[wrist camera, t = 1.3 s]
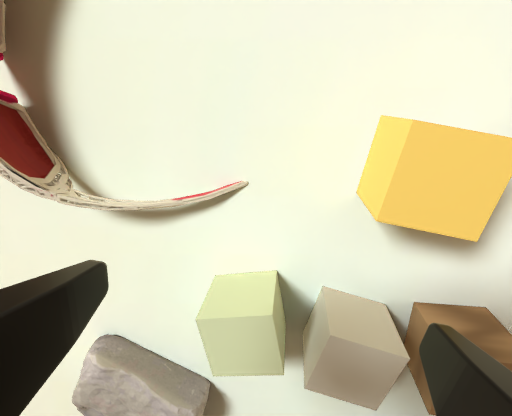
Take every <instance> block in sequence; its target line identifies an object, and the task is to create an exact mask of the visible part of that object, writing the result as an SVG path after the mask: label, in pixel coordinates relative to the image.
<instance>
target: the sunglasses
mask: <svg viewBox="0 0 512 416" xmlns="http://www.w3.org/2000/svg"><path fill="white" fill-rule="evenodd" d="M5 9H6V4H4V0H0V61H1V60H3V56H4V55H3V52H4V51H6V50H7V49H6V44H5ZM58 173H61V174H58ZM5 175H6V176H5ZM59 175H60V176H59ZM0 176H2V177H4V178H5V179H7V180H8V181H10V182H12V183H13V184H15V185H16V186H18V187H19V188H21V189H23V190H26V191H28V192H30V193H33V194H35V195H37V196H39V197H42V198H46V199H51V200H55V201H57V202H59V203H62V204H65V205H71V206H77V207H84V208H92V209H99V210H143V209H154V208H163V207H175V206H179V205H184V204H189V203H194V202H199V201H203V200H208V199H211V198H214V197H217V196H220V195H222V194H225V193H228V192H231V191H233V190H236V189H239V188H241V187H244V186H246V185H248V181H240V182H237V183H234V184H230V185H227V186H223V187H221V188H218V189H216V190H213V191H209V192H206V193H201V194H196V195H191V196H186V197H182V198H175V199H167V200H160V201H133V200H114V199H109V198H108V199H106V198H102V197H98V196H93V195H88V194H86V193H83V192H80V191H78V190H75V189H72V188H73V185H72V181H71V180H70V179H69V176H68V170H67V169H66V167H65V165H64V164H63V162H62V161H61V159H60V158H59V157H58V156H57V155H56V154H55V153H54V152H52V151H51V148H49V147H48V146H47V144H46V141H45V140H44V139H43V137H42V136H41V135H40V133H39V132H38V130H37V129H36V127H35V125H34V123H33V122H32V120H31V119H30V117H29V115H28V114H27V112H26V110H25V108H24V107H23V106H22V105H20V104H18V100H17V98H16V96H14V95H12V94H9V93H6V92H4V91H1V90H0ZM7 176H8V177H7ZM55 176H57V178H55ZM55 179H57V181H56V180H55ZM13 180H14V181H13ZM80 195H83V196H86V197H88V199H87V198H82V197H81V196H80ZM90 198H94V199H98V201H97V200H92V199H90ZM101 200H103V201H101Z"/></svg>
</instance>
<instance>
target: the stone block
mask: <svg viewBox="0 0 512 416" xmlns="http://www.w3.org/2000/svg"><path fill="white" fill-rule="evenodd" d="M209 389H210V382H209V380H207V379H206V378H204V377H202V376H201V375H198V374H196V373H194V372H192V371H190V370H188V369H186V368H184V367H182V366H180V365H178V364H176V363H174V362H172V361H170V360H168V359H166V358H164V357H162V356H160V355H158V354H156V353H154V352H152V351H149V350H147V349H145V348H143V347H141V346H139V345H138V344H136V343H134V342H131V341H129V340H127V339H125V338H122V337H119V336H114V335H108V334H107V335H104V336H101V337H99V338H98V339H97V340H96V341H95V342H94V344H93V345H92V346H91V348H90V349H89V351H88V353H87V355H86V357H85V359H84V362H83V368H82V370H81V375H80V378H79V381H78V383H77V386H76V388H75V390H74V393H73V396H72V403H73V404H74V405H75V406H76V407H77V410H79V411H80V412H81V413H82V414H83V415H84V416H203V413H204V409H205V406H206V403H207V399H208V394H209Z"/></svg>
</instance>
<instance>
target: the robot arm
mask: <svg viewBox="0 0 512 416" xmlns="http://www.w3.org/2000/svg"><path fill="white" fill-rule="evenodd" d="M107 291H108V274H107V265H106V264H105V263H104V262H101V261H96V260H88V261H85V262H82V263H79V264H76V265H73V266H70V267H67V268H64V269H61V270H58V271H54V272H51V273H48V274H45V275H42V276H39V277H36V278H33V279H30V280H27V281H24V282H21V283H18V284H15V285H12V286H9V287H6V288H3V289H0V416H19V415H20V414H21V413H22V411H23V410H24V409H25V408H26V406H27V405H28V404H29V402H30V401H31V400H32V399H33V397H34V396H35V395H36V393H37V392H38V391H39V389H40V388H41V387H42V386H43V384H44V383H45V382H46V380H47V379H48V378H49V376H50V375H51V374H52V373H53V371H54V370H55V369H56V367H57V366H58V365H59V364H60V362H61V361H62V360H63V358H64V357H65V356H66V354H67V353H68V352H69V350H70V349H71V348H72V346H73V345H74V344H75V342H76V341H77V339H78V338H79V336H80V335H81V333H82V332H83V330H84V329H85V327H86V325H87V324H88V322H89V321H90V319H91V318H92V316H93V314H94V313H95V311H96V310H97V308H98V306H99V305H100V303H101V302H102V300H103V299H104V297H105V295H106V294H107ZM419 354H420V358H421V362H422V366H423V370H424V373H425V377H426V381H427V384H428V388H429V392H430V396H431V399H432V403H433V407H434V410H435V413H436V416H512V371H511V370H509V369H508V368H507V367H505V366H504V365H502V364H501V363H500V362H498V361H497V360H496V359H494V358H493V357H492V356H490V355H489V354H488V353H486V352H485V351H483V350H482V349H481V348H479V347H478V346H477V345H475V344H474V343H473V342H471V341H470V340H468V339H467V338H466V337H464V336H463V335H462V334H460V333H459V332H458V331H456V330H455V329H454V328H452V327H451V326H449V325H445V324H440V323H431V324H430V325H429V326H428V328H427V330H426V332H425V334H424V337H423V339H422V341H421V343H420V346H419Z"/></svg>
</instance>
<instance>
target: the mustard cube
mask: <svg viewBox="0 0 512 416" xmlns="http://www.w3.org/2000/svg"><path fill="white" fill-rule="evenodd" d="M511 176H512V138H510V137H505V136H499V135H494V134H488V133H483V132H477V131H472V130H466V129H461V128H456V127H450V126H445V125H439V124H434V123H428V122H423V121H417V120H411V119H404V118H397V117H390V116H383V115H381V117H380V120H379V123H378V126H377V130H376V133H375V136H374V139H373V142H372V145H371V148H370V151H369V154H368V158H367V161H366V164H365V167H364V170H363V173H362V176H361V179H360V182H359V186H358V189H357V192H356V193H357V194H358V196H359V197H360V198H361V200H362V201H363V203H364V204H365V206H366V207H367V208H368V210H369V211H370V213H371V214H372V216H373V217H374V219H375V220H376V221H378V222H383V223H388V224H392V225H397V226H402V227H407V228H412V229H417V230H422V231H427V232H431V233H436V234H441V235H446V236H451V237H456V238H461V239H465V240H470V241H475V242H477V241H478V239H479V237H480V235H481V233H482V231H483V229H484V228H485V226H486V224H487V222H488V220H489V218H490V216H491V214H492V212H493V210H494V209H495V207H496V205H497V203H498V201H499V199H500V197H501V195H502V193H503V192H504V190H505V188H506V186H507V184H508V182H509V180H510V178H511Z"/></svg>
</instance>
